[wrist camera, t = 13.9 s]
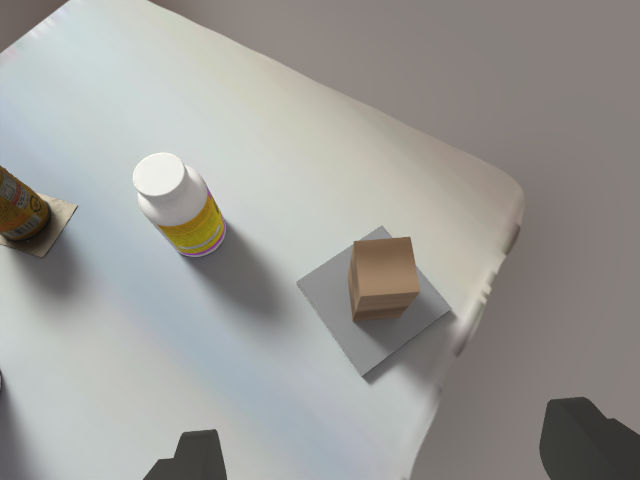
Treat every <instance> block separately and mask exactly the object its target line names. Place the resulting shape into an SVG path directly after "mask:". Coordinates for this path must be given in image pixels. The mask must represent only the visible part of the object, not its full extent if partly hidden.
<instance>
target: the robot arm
mask: <svg viewBox="0 0 640 480" xmlns="http://www.w3.org/2000/svg"><path fill="white" fill-rule="evenodd" d="M0 389H1V376H0ZM539 449H540V456H541V460H542V463H543V466H544V468H545V470H546V472H547V474H548V476H549V477H550V479H551V480H640V435H638V434H637V433H636V432H634V431H633V430H631V429H630V428H628V427H626V426H625V425H623V424H622V423H620V422H619V421H617V420H616V419H613V418H612V419H607V418H606V417H605V416H604V415H603V414H602V413H601V412H600V411H599V410H598V409H597V407H596V406H595V405H594V404H593V403H592V402H591V401H590V400H588V399H587V398H585V397H575V398H564V399H553V400H550V401H549V402H548V404H547V408H546V414H545V418H544V424H543V429H542V434H541V440H540V446H539ZM143 480H227V475H226V470H225V465H224V460H223V455H222V451H221V446H220V441H219V436H218V433H217V431H216V430H215V429H213V430H202V431H191V432H184V433H183V434H182V435H181V437H180V440H179V443H178V446H177V449H176V452H175V455H174V458H170V459H160V460H158V461H157V462H156V464H155V465H154V466H153V467H152V469H151V470H150V471H149V473H148V474H147V475H146V476H145V478H144V479H143Z"/></svg>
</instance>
